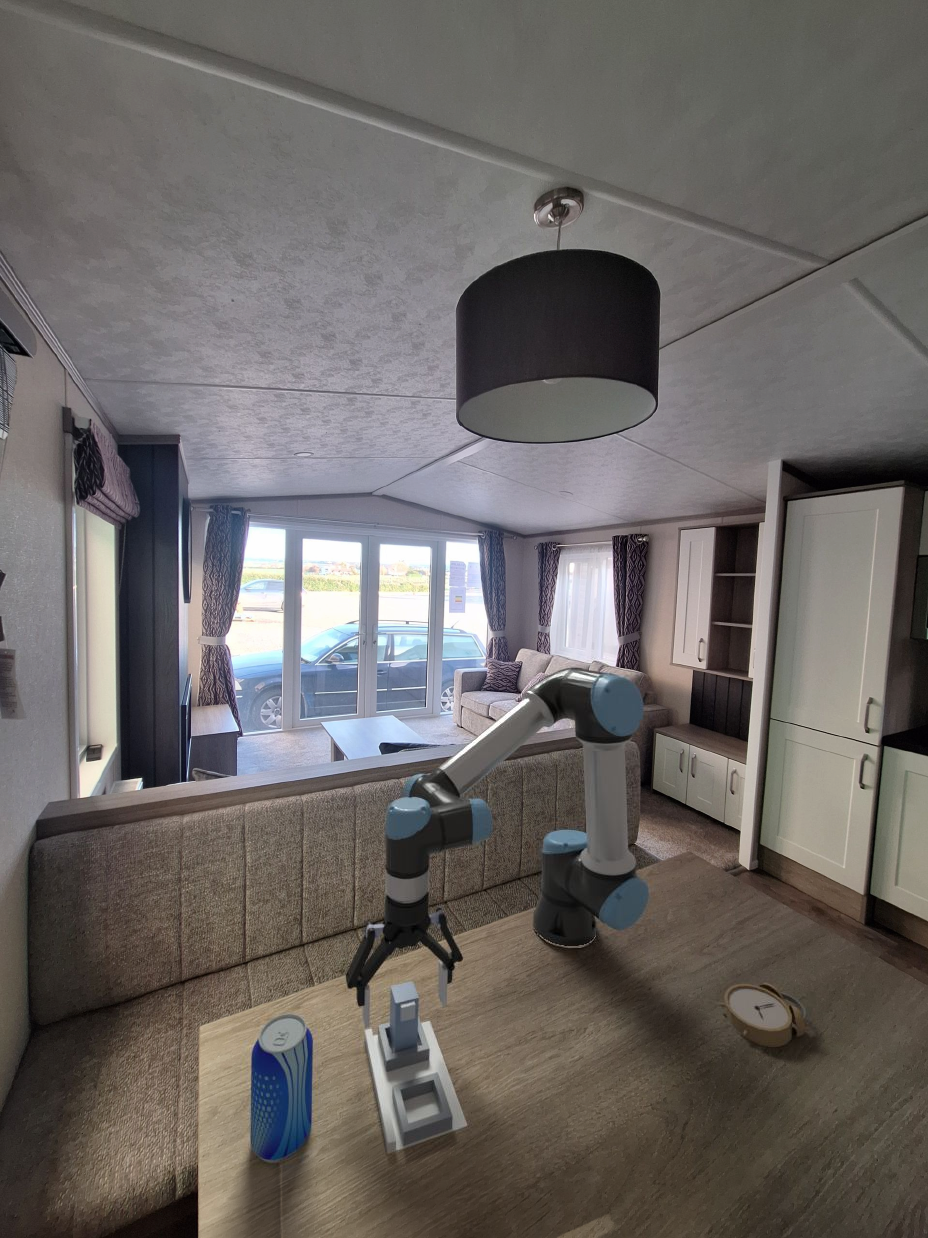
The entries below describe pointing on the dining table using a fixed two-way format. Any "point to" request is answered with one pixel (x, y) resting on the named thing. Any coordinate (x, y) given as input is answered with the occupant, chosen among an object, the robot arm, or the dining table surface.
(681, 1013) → the dining table surface
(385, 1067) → the panel
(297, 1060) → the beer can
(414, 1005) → the plug
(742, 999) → the alarm clock
